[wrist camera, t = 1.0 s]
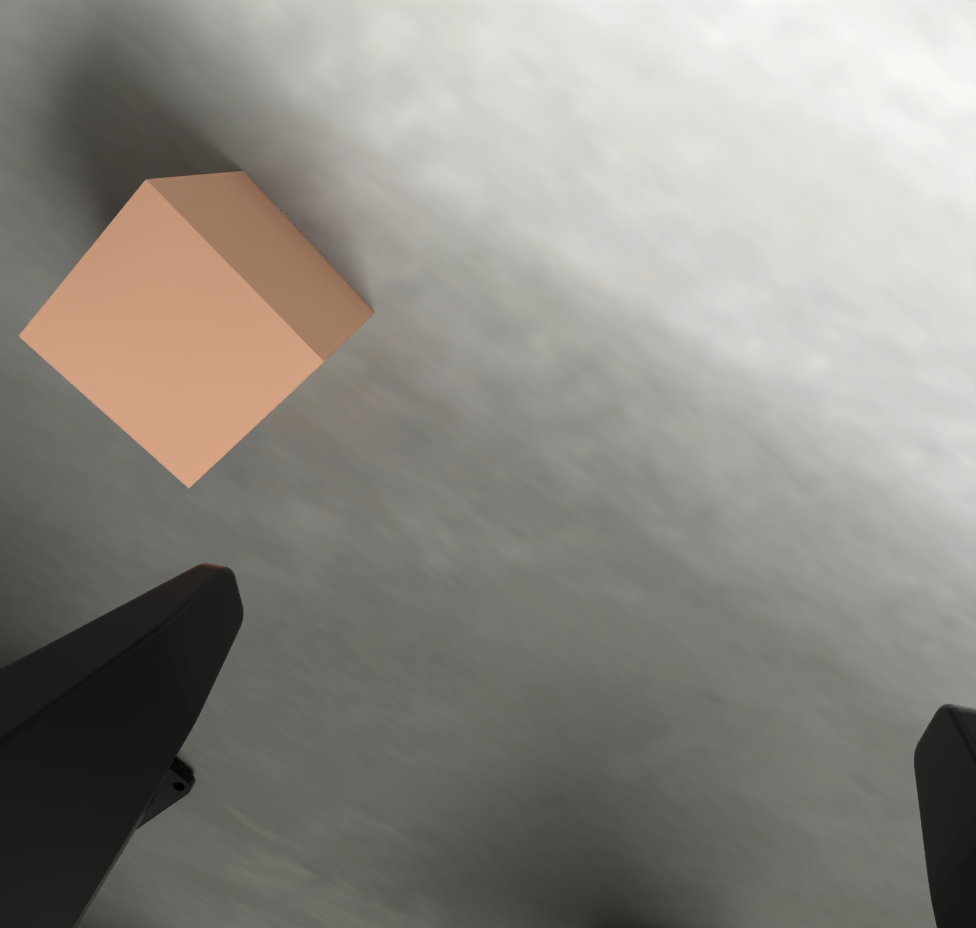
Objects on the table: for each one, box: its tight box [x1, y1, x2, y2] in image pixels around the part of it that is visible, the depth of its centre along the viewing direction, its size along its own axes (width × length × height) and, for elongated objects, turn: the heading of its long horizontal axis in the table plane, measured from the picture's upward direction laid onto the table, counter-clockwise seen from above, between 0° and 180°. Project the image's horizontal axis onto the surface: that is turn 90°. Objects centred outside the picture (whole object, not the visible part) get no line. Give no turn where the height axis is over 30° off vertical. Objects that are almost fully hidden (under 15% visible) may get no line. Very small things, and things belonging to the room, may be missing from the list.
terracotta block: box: [19, 171, 375, 488], centre depth 18 cm, size 5×5×5 cm
